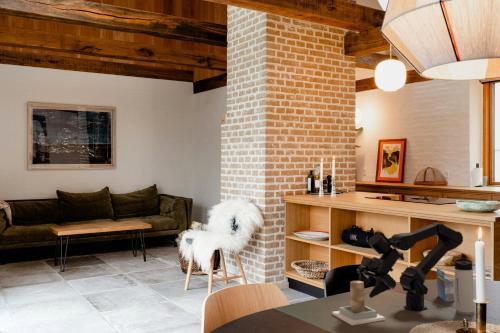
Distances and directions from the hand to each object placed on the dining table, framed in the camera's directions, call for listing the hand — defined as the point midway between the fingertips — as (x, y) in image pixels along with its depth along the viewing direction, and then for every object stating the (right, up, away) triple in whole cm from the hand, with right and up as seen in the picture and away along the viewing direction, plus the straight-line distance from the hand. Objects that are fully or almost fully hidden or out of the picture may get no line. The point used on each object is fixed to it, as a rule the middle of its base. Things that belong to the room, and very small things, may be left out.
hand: (363, 294), depth 179 cm
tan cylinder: (-2, -7, -1) cm, 8 cm away
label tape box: (+39, -7, +19) cm, 44 cm away
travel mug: (+39, -7, 0) cm, 39 cm away
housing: (-2, -8, -1) cm, 9 cm away
